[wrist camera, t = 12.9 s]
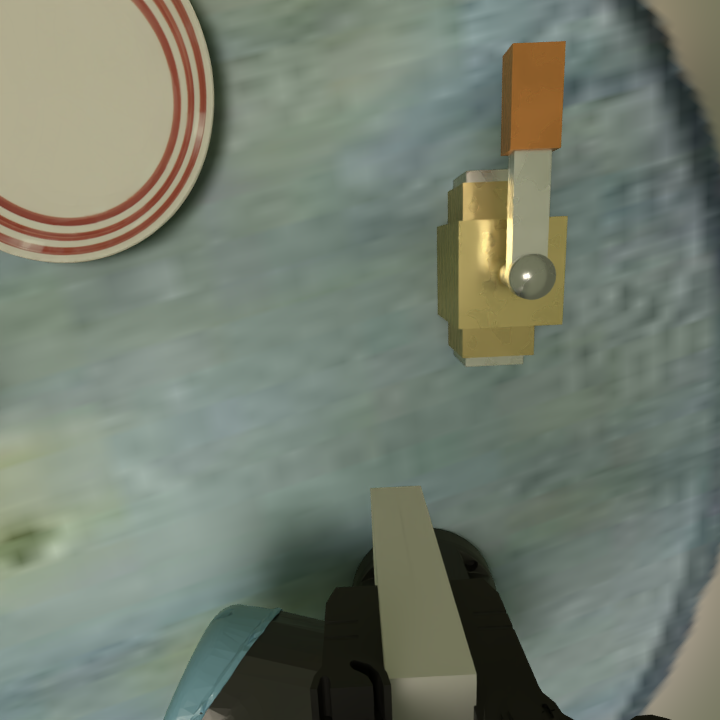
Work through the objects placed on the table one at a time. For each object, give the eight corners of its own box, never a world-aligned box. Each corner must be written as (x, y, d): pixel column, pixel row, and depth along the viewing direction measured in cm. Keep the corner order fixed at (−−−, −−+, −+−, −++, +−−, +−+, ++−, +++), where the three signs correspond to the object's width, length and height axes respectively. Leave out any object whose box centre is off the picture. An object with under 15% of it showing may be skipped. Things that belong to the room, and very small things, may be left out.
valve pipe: (520, 351, 47) (559, 374, 38) (438, 355, 47) (458, 379, 38) (525, 177, 43) (570, 157, 34) (436, 180, 43) (458, 162, 34)
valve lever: (491, 295, 36) (508, 300, 32) (494, 66, 33) (515, 40, 29) (533, 293, 36) (556, 298, 32) (541, 64, 33) (568, 38, 29)
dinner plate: (-150, 152, 42) (-192, 144, 39) (-28, -170, 37) (-64, -210, 34) (137, 318, 46) (120, 323, 42) (282, 44, 41) (276, 26, 37)
